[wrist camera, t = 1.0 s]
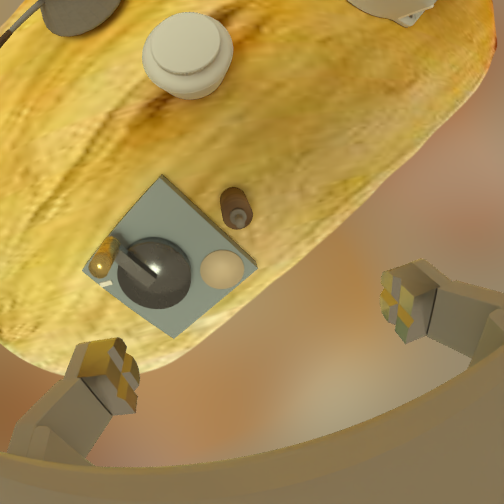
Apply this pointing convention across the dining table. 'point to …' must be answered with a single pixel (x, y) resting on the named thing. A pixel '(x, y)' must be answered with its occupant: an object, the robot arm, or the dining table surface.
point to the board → (193, 245)
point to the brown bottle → (235, 208)
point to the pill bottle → (188, 55)
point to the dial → (146, 270)
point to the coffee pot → (68, 16)
